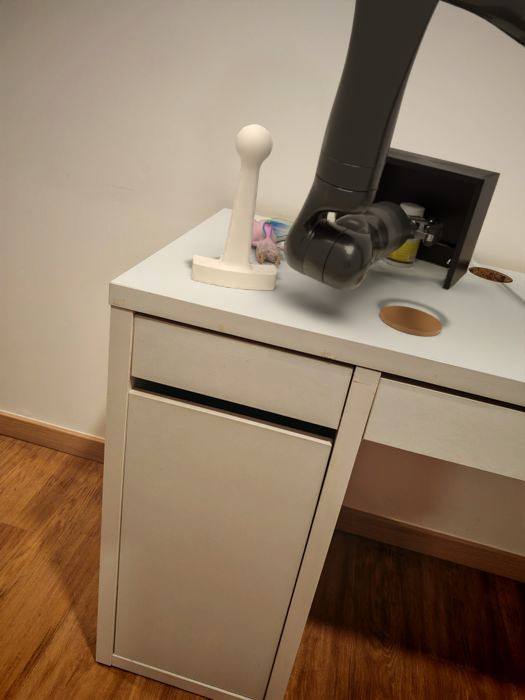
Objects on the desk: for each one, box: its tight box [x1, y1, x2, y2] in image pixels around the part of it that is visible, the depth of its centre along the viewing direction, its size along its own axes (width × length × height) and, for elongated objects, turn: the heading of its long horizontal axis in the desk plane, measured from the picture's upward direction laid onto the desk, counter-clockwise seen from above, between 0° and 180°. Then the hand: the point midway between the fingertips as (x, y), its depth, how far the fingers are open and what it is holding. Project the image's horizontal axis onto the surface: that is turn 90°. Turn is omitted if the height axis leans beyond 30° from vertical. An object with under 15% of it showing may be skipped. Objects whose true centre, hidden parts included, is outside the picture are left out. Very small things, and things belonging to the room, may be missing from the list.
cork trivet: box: [379, 305, 443, 337], centre depth 76 cm, size 8×8×1 cm
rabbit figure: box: [251, 218, 284, 268], centre depth 91 cm, size 6×6×15 cm
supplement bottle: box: [382, 203, 425, 268], centre depth 98 cm, size 5×5×10 cm
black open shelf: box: [333, 146, 501, 291], centre depth 97 cm, size 13×22×17 cm, turn 60°
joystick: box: [190, 123, 278, 291], centre depth 75 cm, size 11×8×20 cm
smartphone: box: [257, 217, 294, 242], centre depth 103 cm, size 7×1×15 cm
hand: (408, 216), depth 96 cm, fingers open, 8 cm apart
